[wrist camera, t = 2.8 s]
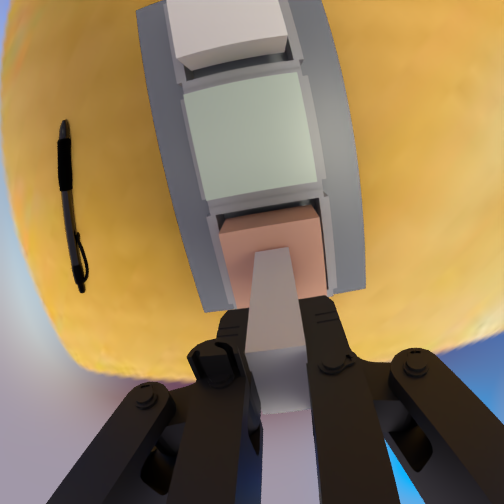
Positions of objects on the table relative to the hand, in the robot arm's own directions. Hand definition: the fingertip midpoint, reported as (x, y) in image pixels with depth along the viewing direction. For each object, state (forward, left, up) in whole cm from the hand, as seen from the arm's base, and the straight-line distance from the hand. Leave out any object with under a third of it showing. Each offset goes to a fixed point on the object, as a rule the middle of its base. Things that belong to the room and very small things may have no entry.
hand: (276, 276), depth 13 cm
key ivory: (-13, 0, -2) cm, 13 cm away
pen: (-5, -14, -6) cm, 16 cm away
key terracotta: (0, 0, -3) cm, 3 cm away
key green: (-6, 0, -2) cm, 7 cm away
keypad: (-6, 0, -6) cm, 9 cm away
